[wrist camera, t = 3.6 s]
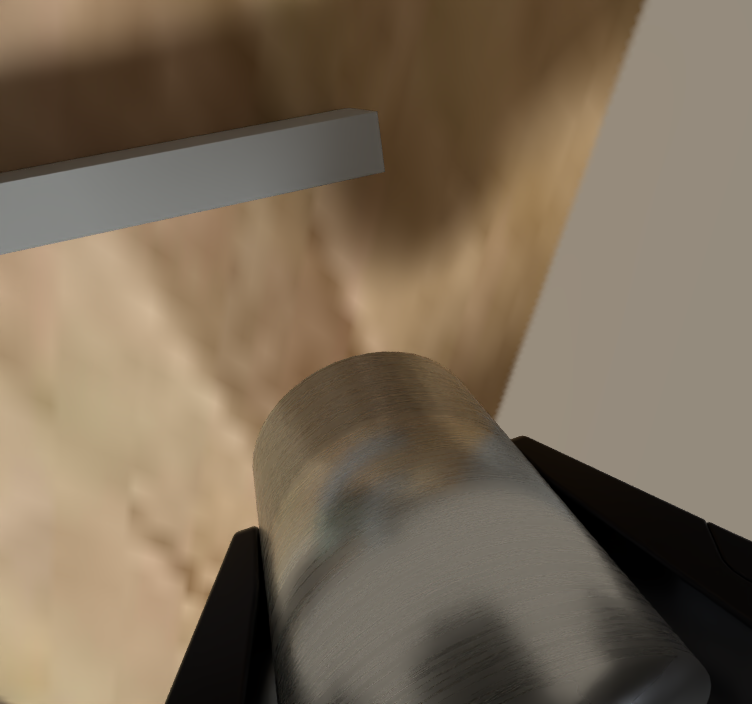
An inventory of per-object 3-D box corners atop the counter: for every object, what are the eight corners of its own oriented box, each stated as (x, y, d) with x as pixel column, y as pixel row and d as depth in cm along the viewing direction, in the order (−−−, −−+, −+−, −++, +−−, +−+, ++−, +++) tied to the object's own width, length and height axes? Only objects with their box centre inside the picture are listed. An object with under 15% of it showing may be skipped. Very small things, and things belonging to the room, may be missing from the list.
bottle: (478, 494, 12) (716, 858, 6) (286, 563, 11) (362, 1056, 5) (470, 323, 9) (861, 675, 4) (219, 394, 9) (230, 999, 3)
